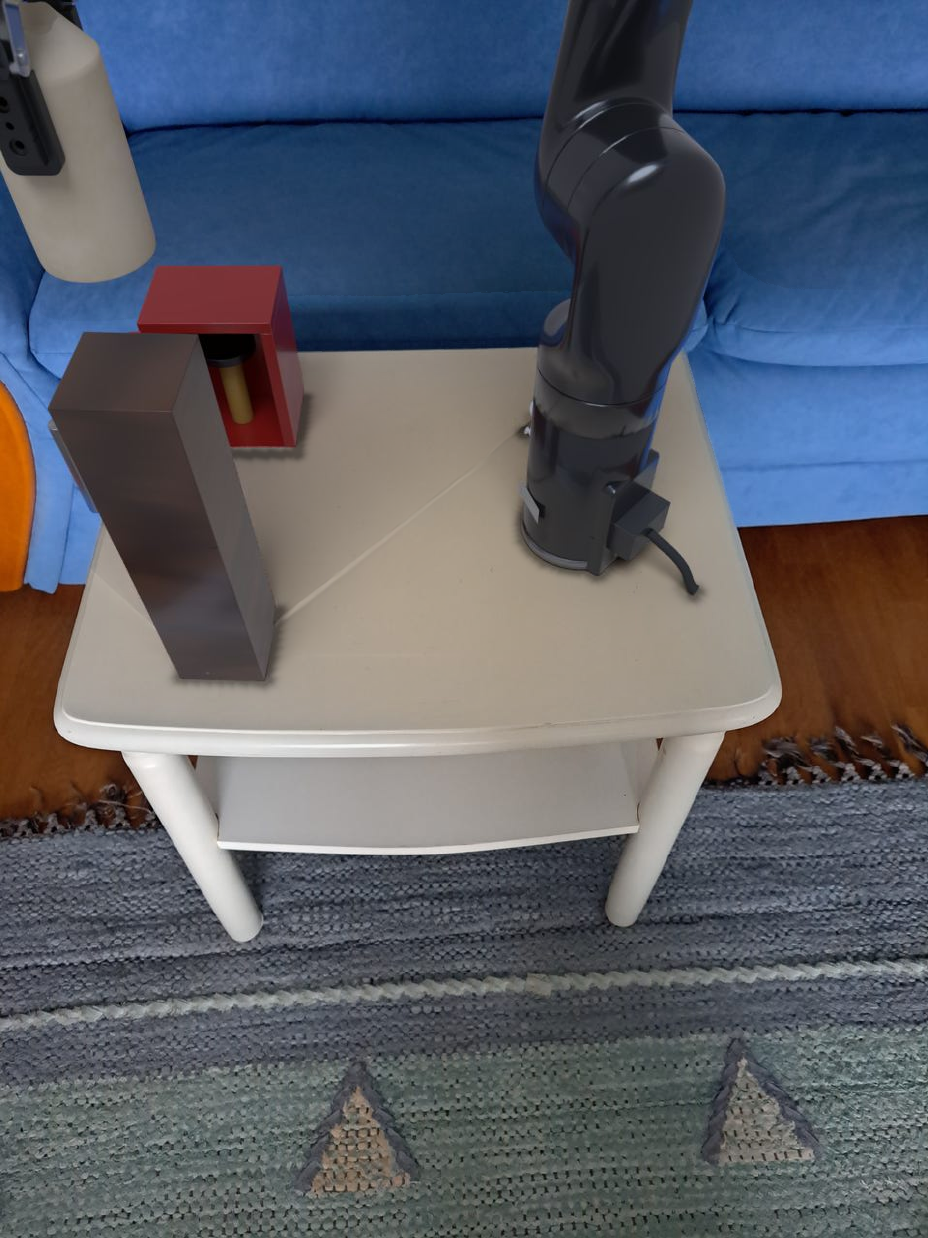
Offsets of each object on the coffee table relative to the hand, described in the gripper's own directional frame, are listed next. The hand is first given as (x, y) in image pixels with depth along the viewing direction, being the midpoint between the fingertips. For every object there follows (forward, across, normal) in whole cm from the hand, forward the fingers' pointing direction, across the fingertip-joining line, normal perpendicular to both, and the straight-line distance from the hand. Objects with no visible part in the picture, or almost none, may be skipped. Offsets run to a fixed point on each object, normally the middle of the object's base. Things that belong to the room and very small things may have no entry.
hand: (59, 133), depth 37 cm
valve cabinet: (+37, -24, -3) cm, 44 cm away
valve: (+36, -24, -3) cm, 44 cm away
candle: (+6, 0, 0) cm, 6 cm away
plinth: (+37, +1, 0) cm, 38 cm away
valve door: (+37, -13, -10) cm, 41 cm away
